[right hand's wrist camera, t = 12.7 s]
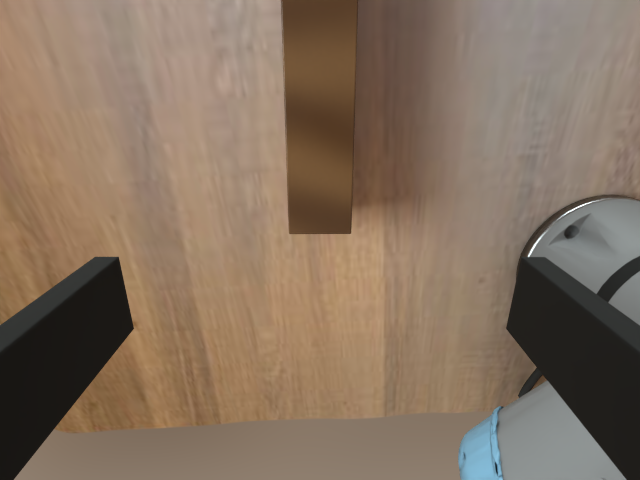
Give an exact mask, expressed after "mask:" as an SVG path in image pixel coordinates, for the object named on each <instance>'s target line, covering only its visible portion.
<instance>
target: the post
mask: <svg viewBox="0 0 640 480" xmlns="http://www.w3.org/2000/svg"><path fill="white" fill-rule="evenodd" d="M281 14H282V43H283V72H284V101H285V131H286V160H287V189H288V218H289V234H351V221H352V186H353V152H354V118H355V84H356V50H357V16H358V0H281Z"/></svg>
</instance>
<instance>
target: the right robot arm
mask: <svg viewBox="0 0 640 480" xmlns="http://www.w3.org/2000/svg"><path fill="white" fill-rule="evenodd" d="M133 329H134V327H133V323H132V318H131V313H130V308H129V304H128V299H127V294H126V290H125V285H124V280H123V275H122V271H121V266H120V261H119V257H94V258H93V259H92V260H90V261H89V262H87V263H86V264H85V265H83V266H82V267H80V268H79V269H78V270H76V271H75V272H74V273H72V274H71V275H69V276H68V277H67V278H65V279H64V280H62V281H61V282H60V283H58V284H57V285H56V286H54V287H53V288H51V289H50V290H49V291H47V292H46V293H44V294H43V295H42V296H40V297H39V298H38V299H36V300H35V301H33V302H32V303H31V304H29V305H28V306H26V307H25V308H24V309H22V310H21V311H20V312H18V313H17V314H15V315H14V316H13V317H11V318H10V319H8V320H7V321H6V322H4V323H3V324H1V325H0V480H14V478H15V477H16V476H17V475H18V473H19V472H20V471H21V470H22V468H23V467H24V466H25V465H26V463H27V462H28V461H29V460H30V458H31V457H32V456H33V455H34V453H35V452H36V451H37V450H38V448H39V447H40V446H41V445H42V443H43V442H44V441H45V440H46V438H47V437H48V436H49V435H50V433H51V432H52V431H53V429H54V428H55V427H56V426H57V424H58V423H59V422H60V421H61V419H62V418H63V417H64V416H65V414H66V413H67V412H68V411H69V409H70V408H71V407H72V406H73V404H74V403H75V402H76V401H77V399H78V398H79V397H80V396H81V394H82V393H83V392H84V391H85V389H86V388H87V387H88V386H89V384H90V383H91V382H92V380H93V379H94V378H95V377H96V375H97V374H98V373H99V372H100V370H101V369H102V368H103V367H104V365H105V364H106V363H107V362H108V360H109V359H110V358H111V357H112V355H113V354H114V353H115V352H116V350H117V349H118V348H119V347H120V345H121V344H122V343H123V342H124V340H125V339H126V338H127V337H128V335H129V334H130V333H131V331H132V330H133ZM506 329H507V330H508V331H509V333H510V334H511V335H512V337H513V338H514V339H515V340H516V342H517V343H518V344H519V345H520V347H521V348H522V349H523V350H524V352H525V353H526V354H527V355H528V357H529V358H530V359H531V360H532V362H533V363H534V364H535V365H536V367H537V368H536V369H535V371H534V372H533V373H532V375H531V376H530V377H529V378H528V380H527V381H526V383H525V384H524V386H523V387H522V389H521V391H520V393H519V395H518V396H519V399H517V400H515V401H514V402H512V403H510V404H509V405H507V406H506V407H500V406H499V407H497V408H496V409H495V410H494V411H493V413H492V415H490V416H489V417H488V418H486V419H485V420H484V421H482V422H481V423H479V424H478V425H477V426H475V427H474V428H472V429H471V430H470V431H468V432H467V433H466V434H465V436H464V437H463V439H462V441H461V444H460V448H459V456H458V460H459V469H460V478H461V480H640V200H637V199H634V198H630V197H626V196H620V195H602V196H595V197H591V198H587V199H584V200H580V201H578V202H575V203H573V204H571V205H569V206H567V207H565V208H563V209H561V210H560V211H558V212H557V213H555V214H554V215H552V216H551V217H550V218H549V219H547V220H546V221H545V222H544V223H543V224H542V225H541V226H540V227H539V228H538V229H537V230H536V231H535V233H534V234H533V235H532V236H531V238H530V239H529V241H528V242H527V244H526V246H525V247H524V250H523V252H522V254H521V256H520V259H519V263H518V267H517V274H516V285H515V290H514V294H513V299H512V304H511V308H510V313H509V318H508V323H507V327H506ZM542 375H544V377H545V378H546V379H547V381H545V382H544V383H542V384H541V385H539V386H537V387H536V388H534V389H533V390H531V389H532V387H533V386H534V385H535V383H536V382H537V381H538V379H539V378H540V377H541V376H542ZM530 390H531V391H530Z"/></svg>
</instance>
